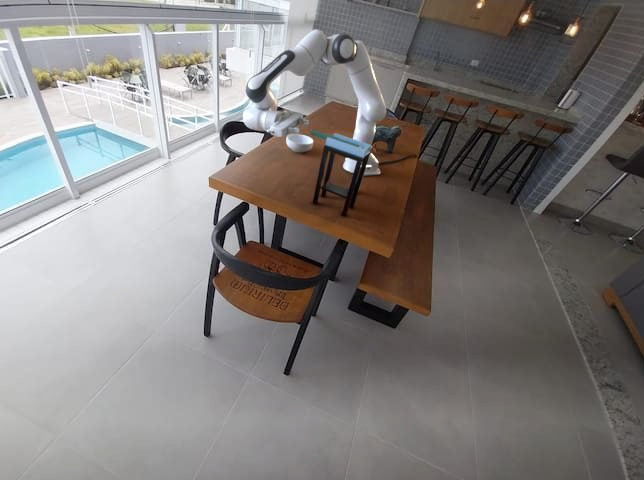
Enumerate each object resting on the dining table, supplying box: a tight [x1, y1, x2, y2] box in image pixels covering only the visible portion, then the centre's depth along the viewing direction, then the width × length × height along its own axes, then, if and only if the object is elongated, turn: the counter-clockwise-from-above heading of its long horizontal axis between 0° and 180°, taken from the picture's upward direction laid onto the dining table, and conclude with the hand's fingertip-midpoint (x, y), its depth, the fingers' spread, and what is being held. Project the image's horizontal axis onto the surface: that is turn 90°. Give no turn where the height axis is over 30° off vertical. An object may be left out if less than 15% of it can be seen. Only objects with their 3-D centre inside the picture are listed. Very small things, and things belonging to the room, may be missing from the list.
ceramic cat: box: [372, 119, 402, 154], centre depth 201 cm, size 20×6×20 cm, turn 84°
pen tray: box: [325, 132, 373, 158], centre depth 125 cm, size 17×8×3 cm, turn 60°
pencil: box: [309, 129, 364, 149], centre depth 127 cm, size 24×2×1 cm, turn 60°
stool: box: [312, 144, 371, 217], centre depth 135 cm, size 17×11×27 cm, turn 60°
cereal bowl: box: [285, 133, 314, 154], centre depth 186 cm, size 17×17×7 cm
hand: (304, 126), depth 131 cm, fingers open, 8 cm apart
